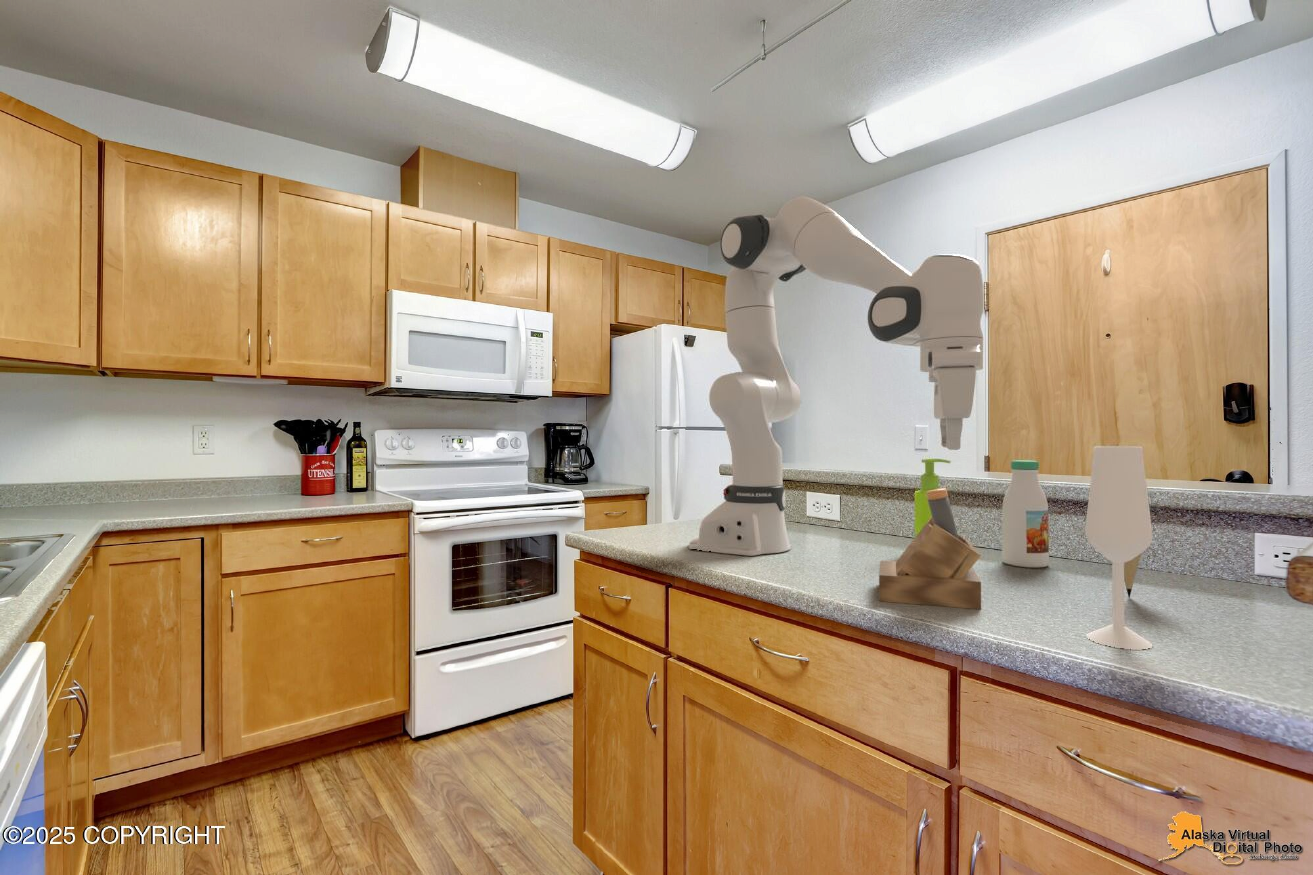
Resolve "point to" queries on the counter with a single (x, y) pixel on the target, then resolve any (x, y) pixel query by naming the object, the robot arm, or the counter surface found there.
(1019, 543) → the milk bottle
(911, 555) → the holder
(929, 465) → the soap dispenser
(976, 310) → the robot arm
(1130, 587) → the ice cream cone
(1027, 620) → the counter surface
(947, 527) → the grey orange cylinder
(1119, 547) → the champagne flute
